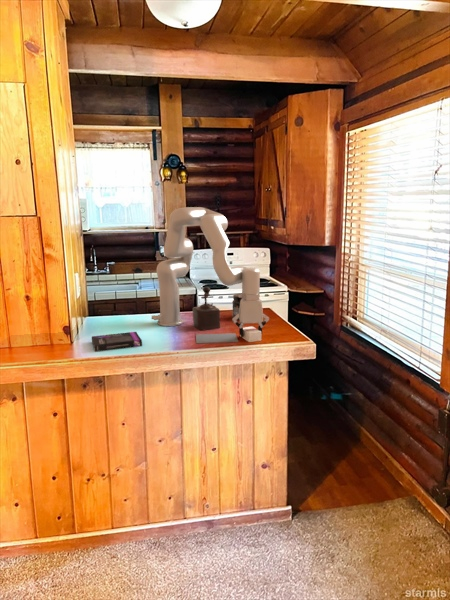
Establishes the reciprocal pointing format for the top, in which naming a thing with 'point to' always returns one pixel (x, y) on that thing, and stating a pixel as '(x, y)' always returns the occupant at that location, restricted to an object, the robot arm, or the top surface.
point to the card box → (251, 334)
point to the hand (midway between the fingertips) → (250, 335)
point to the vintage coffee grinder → (206, 314)
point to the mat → (216, 338)
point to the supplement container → (236, 304)
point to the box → (116, 341)
